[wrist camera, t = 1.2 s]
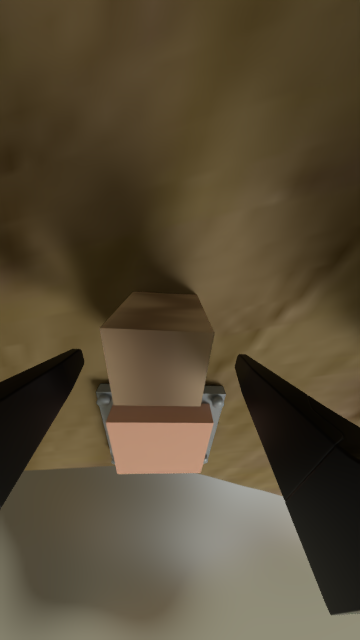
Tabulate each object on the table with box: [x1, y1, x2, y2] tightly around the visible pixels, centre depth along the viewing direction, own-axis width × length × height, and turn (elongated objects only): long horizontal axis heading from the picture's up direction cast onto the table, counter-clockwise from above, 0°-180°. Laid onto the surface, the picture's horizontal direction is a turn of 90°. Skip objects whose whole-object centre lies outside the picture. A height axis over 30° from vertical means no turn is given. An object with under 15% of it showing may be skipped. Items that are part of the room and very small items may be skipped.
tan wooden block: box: [100, 291, 214, 406], centre depth 11 cm, size 5×5×6 cm
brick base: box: [96, 384, 226, 474], centre depth 18 cm, size 13×13×3 cm
